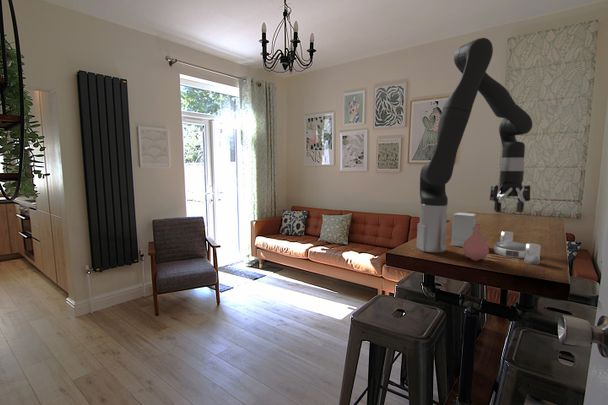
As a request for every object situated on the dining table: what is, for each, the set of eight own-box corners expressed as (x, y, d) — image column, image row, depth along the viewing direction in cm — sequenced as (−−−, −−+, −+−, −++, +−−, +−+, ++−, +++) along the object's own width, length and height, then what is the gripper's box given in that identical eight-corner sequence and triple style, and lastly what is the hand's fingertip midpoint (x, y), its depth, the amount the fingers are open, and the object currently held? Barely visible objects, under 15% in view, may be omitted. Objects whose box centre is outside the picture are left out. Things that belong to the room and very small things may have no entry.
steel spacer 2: (530, 264, 101) (531, 246, 100) (521, 260, 105) (522, 243, 104) (542, 264, 101) (544, 246, 100) (532, 260, 105) (534, 243, 104)
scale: (507, 258, 108) (508, 248, 107) (487, 249, 119) (488, 241, 118) (539, 257, 108) (540, 248, 108) (516, 249, 119) (516, 241, 119)
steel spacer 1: (504, 248, 120) (505, 233, 120) (497, 246, 124) (498, 231, 124) (514, 248, 120) (515, 233, 120) (507, 246, 124) (508, 231, 124)
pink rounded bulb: (458, 256, 110) (460, 222, 108) (481, 256, 109) (483, 222, 108) (467, 262, 102) (470, 226, 101) (492, 263, 101) (495, 227, 100)
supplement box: (471, 248, 121) (473, 215, 119) (450, 245, 125) (452, 214, 124) (474, 244, 126) (476, 213, 125) (454, 241, 131) (456, 212, 130)
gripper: (500, 170, 115) (497, 213, 117) (537, 170, 116) (534, 213, 117) (487, 169, 122) (484, 210, 124) (522, 169, 123) (519, 210, 125)
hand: (508, 212), depth 121 cm, fingers open, 8 cm apart
